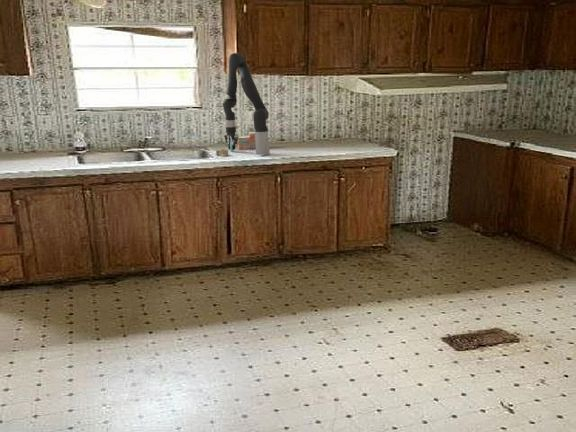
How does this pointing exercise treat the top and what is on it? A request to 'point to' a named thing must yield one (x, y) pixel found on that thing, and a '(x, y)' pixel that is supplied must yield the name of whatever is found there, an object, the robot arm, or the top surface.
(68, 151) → the top surface
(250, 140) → the stack of blocks
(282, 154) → the top surface
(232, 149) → the dowel
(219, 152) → the block
